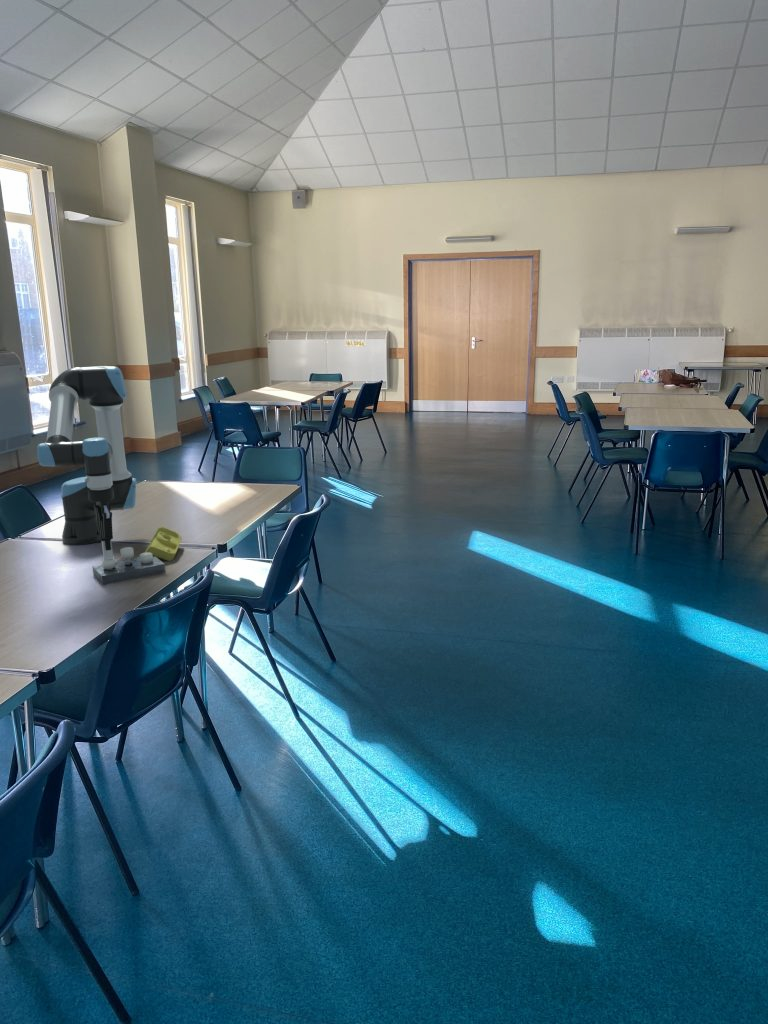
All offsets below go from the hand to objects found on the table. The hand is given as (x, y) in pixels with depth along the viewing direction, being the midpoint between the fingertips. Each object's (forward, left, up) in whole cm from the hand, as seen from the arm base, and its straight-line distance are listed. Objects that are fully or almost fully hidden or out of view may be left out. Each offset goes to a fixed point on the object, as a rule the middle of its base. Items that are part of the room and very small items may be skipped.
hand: (108, 558), depth 242 cm
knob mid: (0, +6, -3) cm, 7 cm away
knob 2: (0, +12, -6) cm, 14 cm away
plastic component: (-15, +22, -7) cm, 27 cm away
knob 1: (0, 0, -6) cm, 6 cm away
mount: (0, +6, -6) cm, 9 cm away
